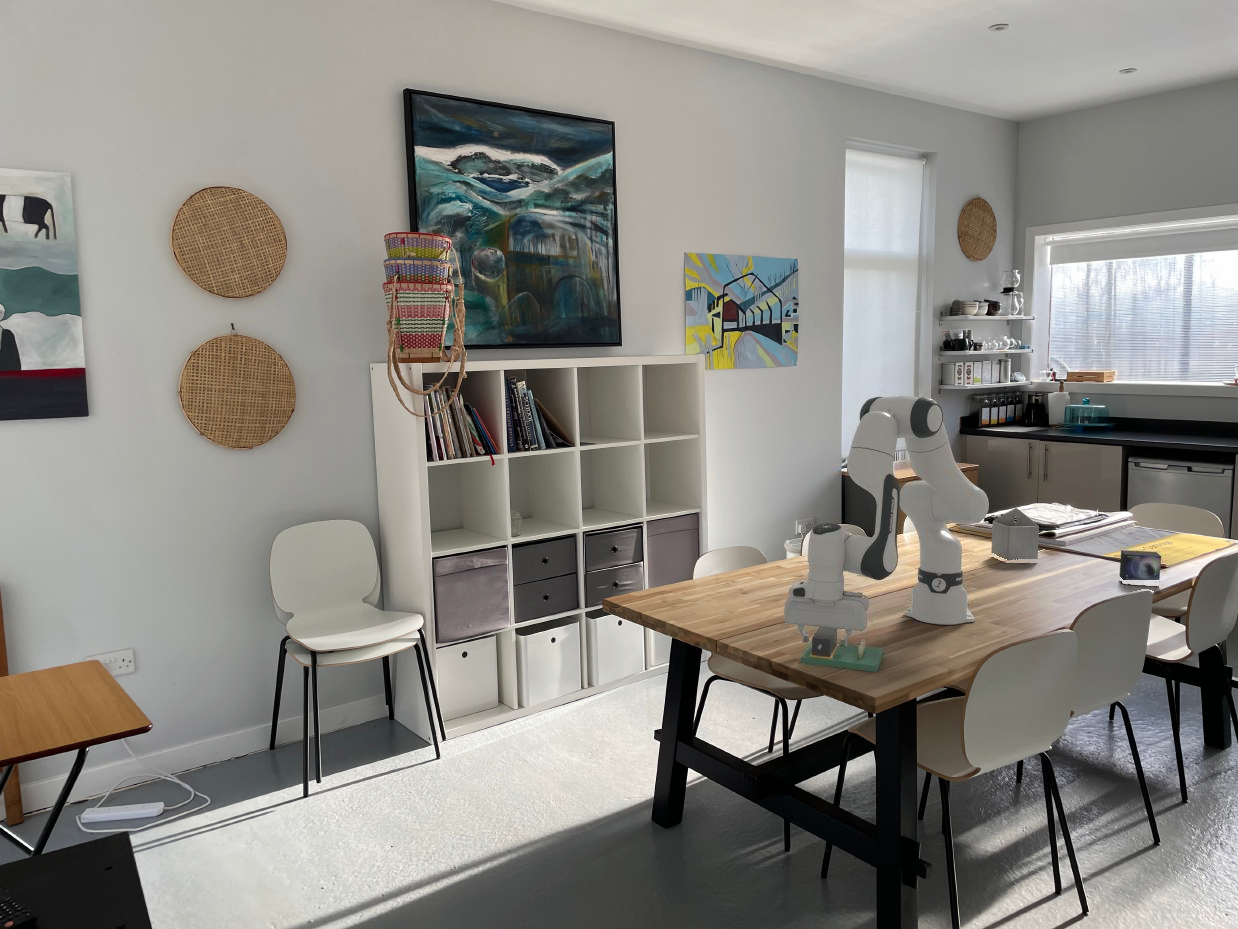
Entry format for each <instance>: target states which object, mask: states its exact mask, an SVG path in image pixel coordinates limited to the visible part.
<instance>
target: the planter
mask: <svg viewBox="0 0 1238 929" xmlns="http://www.w3.org/2000/svg"><path fill="white" fill-rule="evenodd" d="M1015 519H1016V521H1015ZM991 527H992V528H991V530H992V531H991V553H994V554H996V555H997V556H999V557H1002V558H1004V559H1007V560H1013V559H1014V560H1016V559H1017V560H1018V559H1038V558H1039V556H1038V554H1039V536H1040V535H1039V533H1040V532H1039V531H1040V526H1039V524H1038V523H1036V522H1035V521H1034V520H1033V519H1032V518H1030V516H1028V515H1026V514H1025V513H1024V512H1023V511H1022V510H1020V509H1019V508H1017V507H1015V508H1012V509H1011V510H1009V511H1008V512H1005V513H1004V514H1001V515H1000V516H999V517H997V518H996V519H994V520H993V521H992V526H991ZM1038 560H1039V559H1038Z"/></svg>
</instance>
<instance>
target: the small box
mask: <svg viewBox="0 0 1238 929" xmlns="http://www.w3.org/2000/svg"><path fill="white" fill-rule="evenodd" d="M1161 564H1162V555H1161V554H1159V553H1158V552H1157V551H1147V550H1129V549H1128V550H1127V549H1126V550H1125V549H1121V550H1120V564H1119V576H1120V577H1121V578H1122V579H1123V580H1160V577H1161V567H1162V566H1161Z"/></svg>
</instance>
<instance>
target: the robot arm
mask: <svg viewBox="0 0 1238 929" xmlns="http://www.w3.org/2000/svg"><path fill="white" fill-rule="evenodd" d="M943 420H944V412H943V410H942V407H941V405H940V404H939V403H938V401H937V400H935V399H932V398H929V397H924V396H921V397H918V396H911V395H899V396H895V395H894V396H876V397H871V398H869V399H867V400H866V401H865V403H863V404H862V406H861V408H860V411H859V423H858V425H857V428H856V430H855V432H854V436H853V438H852V441H851V445H850V449H849V452H848V456H847V463H846V466H847V468H846V469H847V472H848V475H849V477H850V478H851V480H852V481H853V482H854V483H855V484H856V485H858V486H860V488H862V489H864V490H865V491H867V492H869V493H870V494H871V495H872V496H873V498H875V502H876V514H875V527H874V534H873V536H872V537H870V536H865V535H860V534H856V533H851V532H848V531H846V530H845V529H843V527H842V526H841V525H840V524H838V523H835V522H826V523H820V524H819V523H818V524H817V525H815V526H814V527H812V528H811V530H810V533H809V538H808V545H807V546H808V547H807V563H808V567H809V569H808V573H807V579H806V580H802V581H798V582H794V583H792V584H791V585H790V587H789V588H788V595H789V596H788V597H787V598H786V600H785V603H784V607H783V621H784V622H785V623H786V624H787V625H797V630H798V632H799V633H800V635H801V642H802V643H810V634H808V633H807V632H806V631H805V627H806V626H807V627H815V628H816V627H818V628H819V627H826V628H836V629H837V630H845V632H844V633H845V634H846V636H845V637H841V639H840V644H841V646H842V647H847V644H848V645H849V643H848V640H849V638H850V637H851V635H852V633H853V631H857V632H863V631H865V630H866V629H867V628H868V614H867V613H868V612H867V611H868V609H869V608H870V607H869V606H870V604H869V603H870V601H869V598H868V596H867V595H865V594H863V592H854V591H847V590H845V576H844V575H845V574H844V572H847V573H850V574H855V575H859V576H863V577H866V578H870V579H873V580H875V581H882V580H884V579H886V578H888V577H890V576H891V575H892V574H893V572H895V571H896V568H897V566H898V561H899V552H898V531H899V530H898V529H899V517H900V516H899V514H900V509H901V511H902V512H903V513H904V514H905V515H906V516H907V518H909V519H910V521H911V523H912V525H913V526H914V528H915V530H916V534H917V536H918V537H917V538H918V540H919V541H918V542H919V567H918V571H917V581H918V582H917V583H916V584H915V585H914V586H913V587H912V588H911V604H910V606H909V607H908V608H907V609H906V610H904V613H903V614H904V616H905V617H910V618H913V619H914V620H917V621H920V622H924V623H928V624H934V625H948V626H949V625H960V624H964V623H972V622H973V623H974V622H975V621H976V620H975V616H974V615H973V614H972V612H971V611H970V609H969V608H968V607H969V603H968V594H969V593H968V591H967V590H966V589H965V587H964V586H963V579H964V573H963V570H962V561H963V560H962V559H963V558H962V556H963V555H962V554H963V546H962V543H961V541H960V540H959V539H958V538H957V536H955V535H953V533H952V532H951V531H950V530H949V528H948V527H947V523H951V524H955V525H956V524H958V525H971V524H972V525H974V524H979V523H981V522H982V521H983V520H984V519H985V518H986V516H987V514H988V512H989V508H990V507H989V506H990V505H989V504H990V503H989V498H988V496H987V494H986V492H985V491H984V490H983V489H981V488H980V487H978V486H977V485H975V484H974V483H973V482H972V481H970V480H969V479H968V477H966V475H965V474H964V473H963V472H962V470H961V469H960V467H959V466H958V464H957V462H956V460H955V457H954V454H953V451H952V447H951V443H950V441H949V436H948V433H947V429H946V427H945V423H944V421H943ZM898 439H904V442H905V447H906V450H907V454H908V459H909V462H910V466H911V468H912V471H913V473H914V474H915V475H916V476H917V477H918V478H920V479H921V480H915V481H913V480H912V481H909V482H906V483H905V484H903V486H902V487H901V488H900V482H899V479H898V478H897V477H896V476H895V474H894V460H895V455H896V452H897V451H896V449H897V444H898V442H897V441H898Z"/></svg>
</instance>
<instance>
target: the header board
mask: <svg viewBox="0 0 1238 929" xmlns="http://www.w3.org/2000/svg"><path fill="white" fill-rule="evenodd" d="M884 653H885V649H884V648H883V647H876V646H874V647H873V646H866V639H860V642H859V644H858V645H855V644H849V643H848V644H847V647H842V646H841V643H838V642H837V646H836V647H835V649H834V651H833V653H832V655H831V656H830V657H825V656H816V655H812V640H811V641H809V644H808V645H807V647H806V648H805V650H804V652H802V654H801V656H800V664H804V665H805V664H806V665H815V666H824V667H831V668H839V669H848V670H849V669H850V670H857V671H866V672H871V673H872V672H873V673H878V670H879V668H880V666H881V663H882V660H883V657H884V655H885V654H884Z"/></svg>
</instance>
